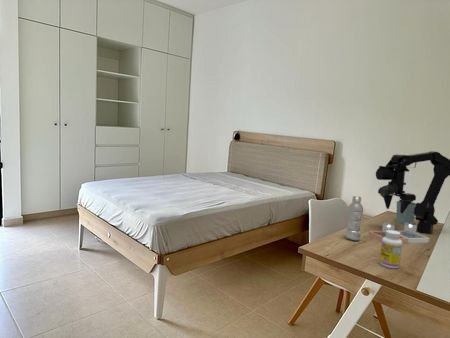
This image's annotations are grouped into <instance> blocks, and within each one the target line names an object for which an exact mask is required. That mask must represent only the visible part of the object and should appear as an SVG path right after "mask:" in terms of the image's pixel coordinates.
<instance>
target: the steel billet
mask: <svg viewBox="0 0 450 338" xmlns="http://www.w3.org/2000/svg"><path fill="white" fill-rule="evenodd" d="M395 228H396V225H395V224H393V223H389V222H383V223H382V228H381V231H382V235H381V237H386V231H387V230H393V231H396V229H395Z"/></svg>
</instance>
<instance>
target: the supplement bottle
mask: <svg viewBox="0 0 450 338" xmlns="http://www.w3.org/2000/svg"><path fill="white" fill-rule="evenodd" d="M397 231H398V230H394V231H393V230H387V231H386V237H384V238H383V239H382V242H381V245H380V254H379V255H380V256H379V264H380V265H381V266H383V267H386V268H389V269H398V268H399V267H400V265H401V256H402V248H403V244H402V241H401V240H400V239H399V237H400V232H397Z"/></svg>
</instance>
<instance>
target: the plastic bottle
mask: <svg viewBox="0 0 450 338" xmlns="http://www.w3.org/2000/svg"><path fill="white" fill-rule="evenodd" d="M351 201H352V202H351V203H350V204H349V206H348V209H347V213H348V220H347V221H348V223H347V228H346V231H345V236H346V237H345V238H346V239H347V240H351V241H359V240H360V239H361V234H362V233H361V222H362V217H363V213H364V208H363V205H362V204H361V202H362V197H361V196H352V199H351Z"/></svg>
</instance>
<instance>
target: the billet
mask: <svg viewBox="0 0 450 338" xmlns="http://www.w3.org/2000/svg"><path fill="white" fill-rule="evenodd" d="M403 225H404V227H403V231H404V233H403V236H405V237H407V238H415V237H416V233H417V225H418V224H415V223H405V224H403Z"/></svg>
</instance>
